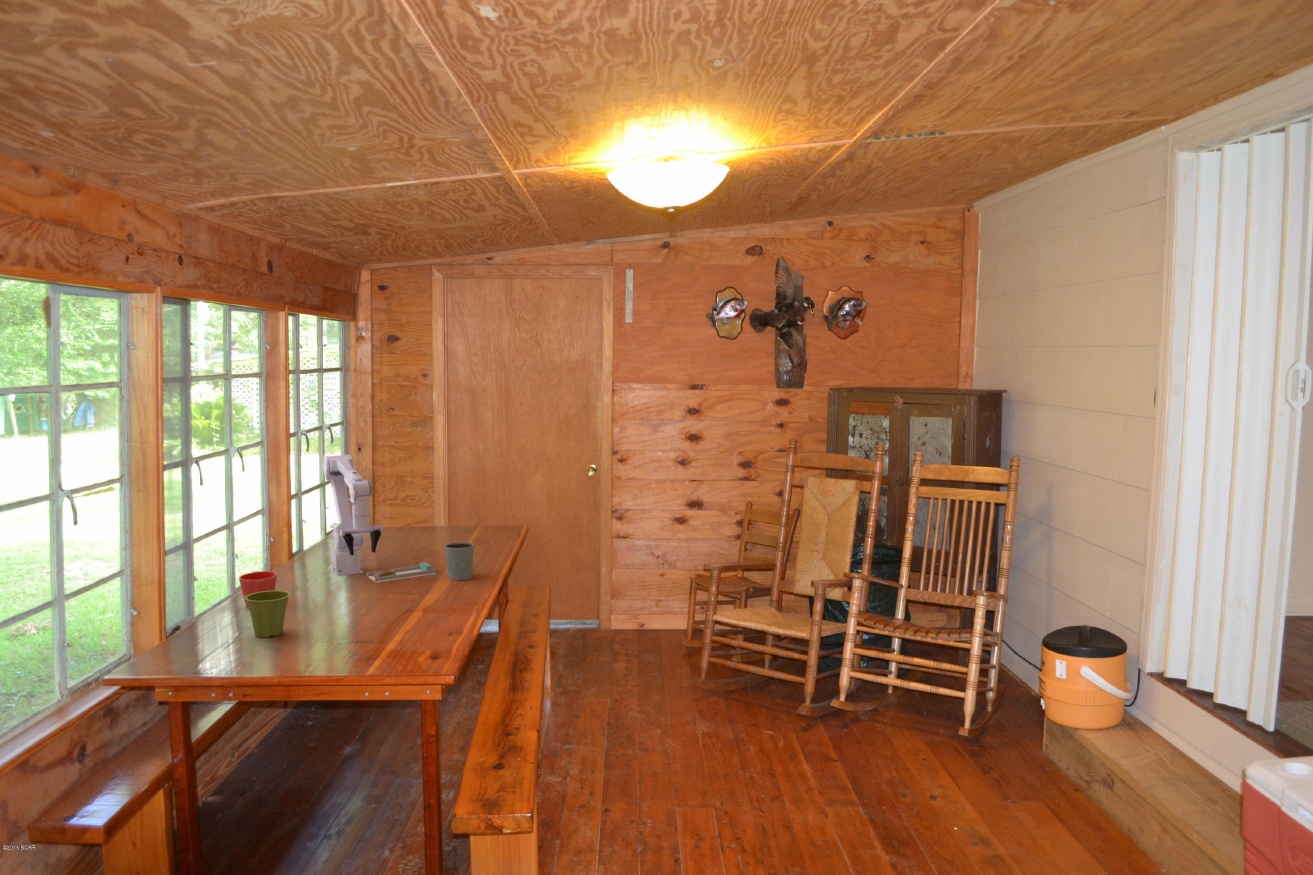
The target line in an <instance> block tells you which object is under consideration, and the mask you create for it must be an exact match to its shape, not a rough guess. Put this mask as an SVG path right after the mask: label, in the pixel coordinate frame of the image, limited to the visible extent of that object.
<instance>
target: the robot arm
mask: <svg viewBox="0 0 1313 875" xmlns="http://www.w3.org/2000/svg"><path fill="white" fill-rule="evenodd" d="M354 464H355V462H354V457H353V456H352V455H351V454H342V455H325V456H324V457H323V460H322V469H323V474H324V477H325V480H326V481H328V482H329V483H330V485H331V490H332V494H333V499H334V500H333V501H334V505H335V510H336V514H337V520H338V524H337V525H336V526H335V527H334V528H333V530H332V542H333V547H334V548H335V549H336V550H333V551H331V552H332V553H331V573H332V574H334V575H335V576H337V577H341V576H348V575H356V574H363V573H364V571H363V570H361V558H360V557H361V556H360V554H361V553H360V549H362V547H363V546H364V543H365V534H367V533H369V534H370V535H369V536H370V542H371V543H370V549H371V553H374V554H375V553H376V552H377V551H376V550H377V545H378V542H379V541H380V538H381V537H382V532H383V531H384V525H382V524H377V525H371V510H370V509H371V508H370V507H371V506H370V497H371V496H372V493H373V492H372V490H373V489H372V488H373V487H372V484H371V481H370V480H368V479H364V478H363V476H362V474H360V472H358V470H355V469H354V468H355V467H354V466H355V465H354ZM347 487H348V488H349V489H348V492H349V496H348V492H347ZM349 497H350V501H349ZM350 503H351V505H352V508H351V505H350ZM351 509H352V512H351Z"/></svg>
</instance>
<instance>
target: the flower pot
mask: <svg viewBox="0 0 1313 875" xmlns="http://www.w3.org/2000/svg"><path fill="white" fill-rule="evenodd" d="M277 577H278V575H277V573H276V572H273V571H268V570H267V571H265V570H263V571H254V572H250V573H249V572H248V573H245V574H242V575H240V576H239V577H238V581H239V584H240V588H241V593H242V596H243V601H244V603H245V607H246V608H247V609H249V607H248V603H247V600H245V597H246V596H247V595H250V594H252V593H257V592H262V591H275V590H276V584H277Z"/></svg>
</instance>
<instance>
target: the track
mask: <svg viewBox="0 0 1313 875" xmlns="http://www.w3.org/2000/svg"><path fill="white" fill-rule="evenodd" d="M391 569H392V570H394V571H396V575H390V576H383V577H377V578H376V577H374V571H370V572H369V571H368V572H366V575H365V576H366V577H367V578H369V579H370V580H372V581H374V582H375V583H381V582H388V581H390V582H391V581H397V580H402V579H403V580H404V579H409V578H416V577H423V576H430V575H437V569H436V568H433V567H432V564H429V563H428V562H425V561H423V562H419V564H418V565H412V566H411V565H410V566H405V567H397V568H391Z"/></svg>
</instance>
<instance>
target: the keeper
mask: <svg viewBox="0 0 1313 875" xmlns="http://www.w3.org/2000/svg"><path fill="white" fill-rule="evenodd" d="M392 569H393V568H386V569H379V570H374V571H373V572H374V577H376V578H377V577H383V576H390V575H396V571H394V570H392Z"/></svg>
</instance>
